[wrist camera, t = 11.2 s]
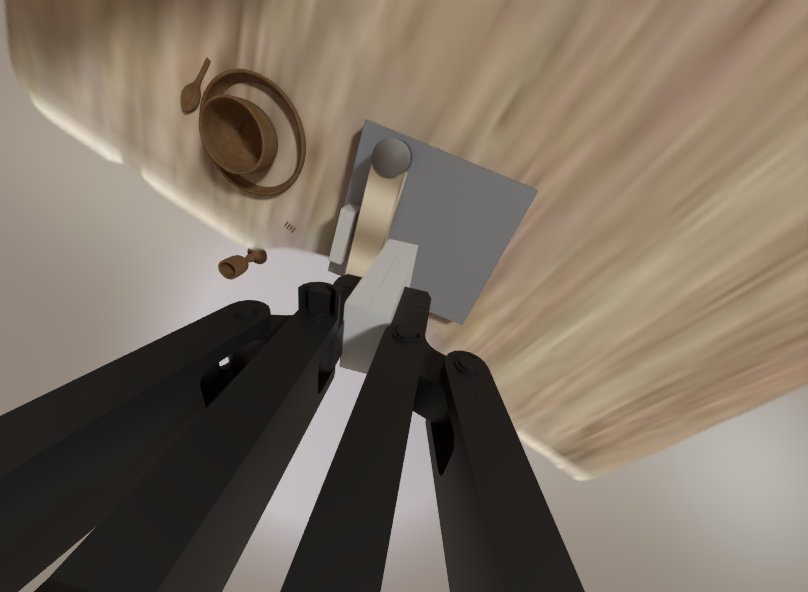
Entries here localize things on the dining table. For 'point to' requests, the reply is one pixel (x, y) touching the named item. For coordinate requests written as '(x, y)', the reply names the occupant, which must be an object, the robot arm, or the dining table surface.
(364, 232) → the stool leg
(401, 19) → the dining table surface
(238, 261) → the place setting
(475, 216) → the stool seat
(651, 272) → the dining table surface
